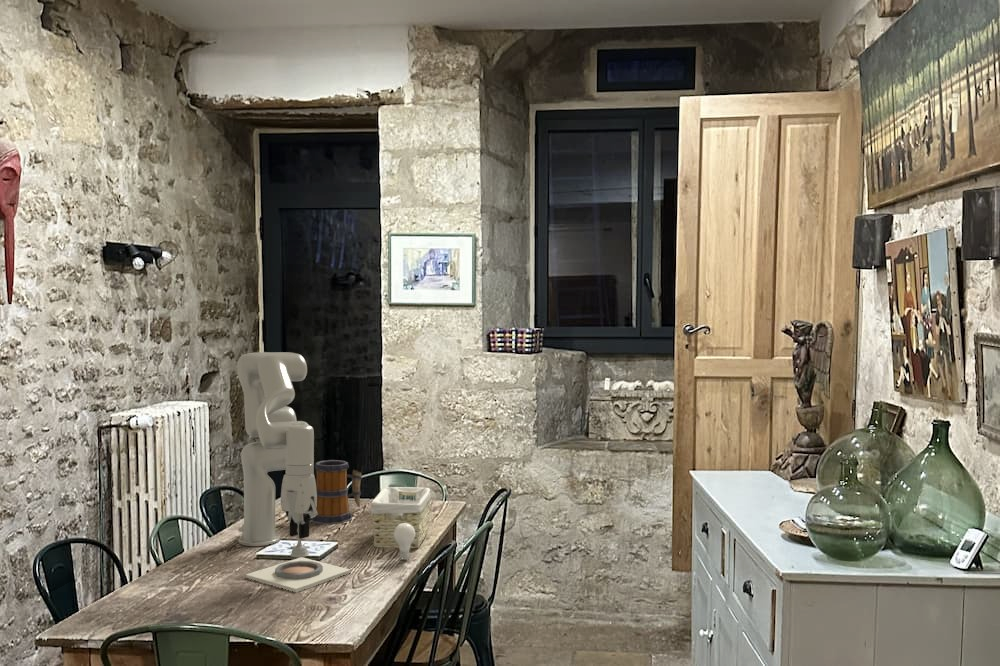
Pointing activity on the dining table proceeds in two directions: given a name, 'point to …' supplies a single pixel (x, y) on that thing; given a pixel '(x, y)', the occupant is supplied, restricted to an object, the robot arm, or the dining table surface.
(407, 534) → the lightbulb
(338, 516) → the mug
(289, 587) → the seat board
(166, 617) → the dining table surface
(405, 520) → the storage basket
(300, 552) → the chalice
